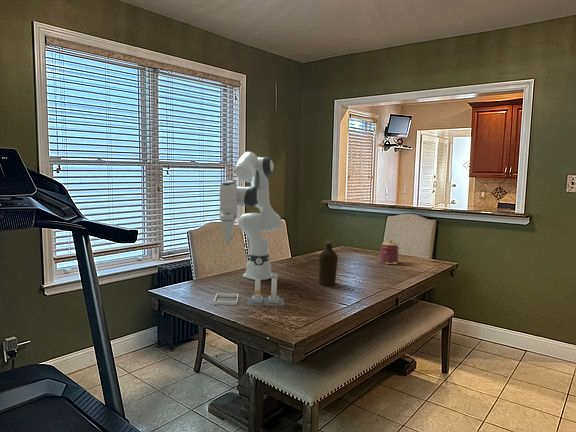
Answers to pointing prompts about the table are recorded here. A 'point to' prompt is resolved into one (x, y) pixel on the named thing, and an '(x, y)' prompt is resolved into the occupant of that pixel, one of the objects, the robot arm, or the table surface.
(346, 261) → the table surface
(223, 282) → the table surface
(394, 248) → the canister
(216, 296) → the tray
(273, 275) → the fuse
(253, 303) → the fuse board
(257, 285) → the cylinder
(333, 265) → the olive oil
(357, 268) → the table surface
